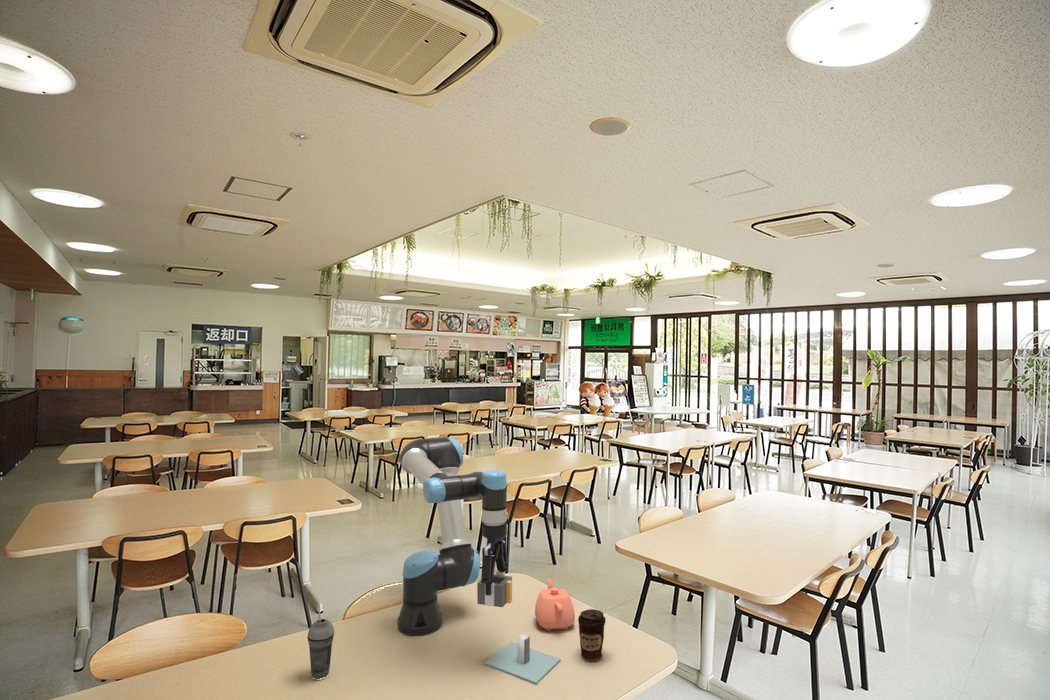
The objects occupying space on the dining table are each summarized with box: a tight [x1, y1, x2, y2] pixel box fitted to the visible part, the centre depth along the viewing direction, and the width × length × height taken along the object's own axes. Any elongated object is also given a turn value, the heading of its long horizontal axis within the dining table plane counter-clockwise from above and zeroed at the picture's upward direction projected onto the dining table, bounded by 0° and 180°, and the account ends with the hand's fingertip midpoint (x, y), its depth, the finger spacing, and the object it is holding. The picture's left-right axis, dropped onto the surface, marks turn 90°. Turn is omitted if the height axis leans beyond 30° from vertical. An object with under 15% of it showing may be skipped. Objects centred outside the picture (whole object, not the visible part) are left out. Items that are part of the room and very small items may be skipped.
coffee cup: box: [577, 608, 606, 663], centre depth 159 cm, size 9×8×13 cm
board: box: [484, 633, 562, 685], centre depth 155 cm, size 18×14×8 cm
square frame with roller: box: [476, 574, 513, 608], centre depth 157 cm, size 9×8×6 cm
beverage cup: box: [306, 603, 335, 679], centre depth 149 cm, size 7×7×20 cm
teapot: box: [534, 577, 576, 632], centre depth 179 cm, size 13×20×12 cm, turn 8°
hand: (495, 599), depth 157 cm, fingers closed on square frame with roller, 8 cm apart
